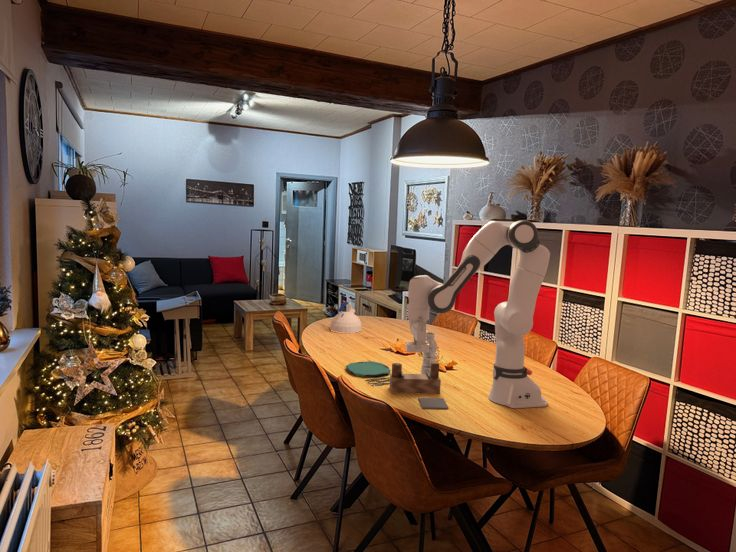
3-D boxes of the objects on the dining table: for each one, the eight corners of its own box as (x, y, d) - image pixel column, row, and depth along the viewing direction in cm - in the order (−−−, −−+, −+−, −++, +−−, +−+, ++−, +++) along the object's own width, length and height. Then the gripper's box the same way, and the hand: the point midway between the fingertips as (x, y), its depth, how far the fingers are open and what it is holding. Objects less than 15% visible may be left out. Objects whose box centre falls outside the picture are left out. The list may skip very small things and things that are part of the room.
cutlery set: (379, 363, 246) (379, 359, 245) (406, 384, 218) (406, 379, 218) (340, 367, 238) (340, 362, 238) (364, 389, 211) (364, 384, 210)
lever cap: (427, 349, 209) (427, 340, 209) (428, 352, 205) (429, 342, 204) (405, 349, 209) (405, 340, 208) (407, 351, 204) (407, 342, 204)
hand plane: (436, 388, 213) (438, 360, 211) (439, 393, 206) (441, 365, 205) (389, 387, 212) (390, 359, 210) (391, 393, 205) (392, 364, 203)
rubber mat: (443, 399, 199) (443, 398, 199) (448, 409, 190) (448, 407, 190) (418, 399, 199) (418, 397, 199) (422, 408, 189) (422, 407, 189)
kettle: (367, 329, 321) (368, 301, 318) (353, 335, 302) (354, 306, 300) (339, 325, 329) (340, 298, 327) (323, 331, 310) (324, 302, 308)
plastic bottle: (425, 373, 233) (427, 331, 230) (438, 376, 229) (440, 333, 226) (417, 376, 228) (419, 333, 226) (430, 379, 224) (432, 335, 221)
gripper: (430, 320, 195) (429, 354, 197) (422, 310, 215) (420, 341, 217) (414, 319, 195) (413, 354, 196) (407, 310, 215) (406, 341, 216)
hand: (417, 347), depth 207 cm, fingers closed on lever cap, 4 cm apart
